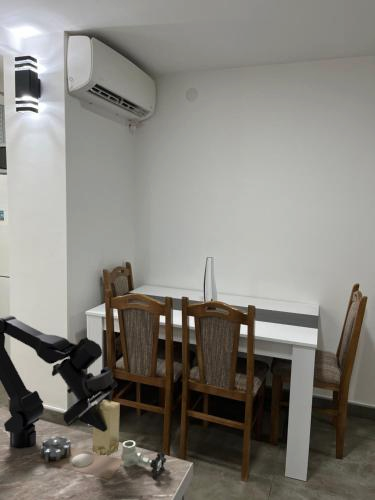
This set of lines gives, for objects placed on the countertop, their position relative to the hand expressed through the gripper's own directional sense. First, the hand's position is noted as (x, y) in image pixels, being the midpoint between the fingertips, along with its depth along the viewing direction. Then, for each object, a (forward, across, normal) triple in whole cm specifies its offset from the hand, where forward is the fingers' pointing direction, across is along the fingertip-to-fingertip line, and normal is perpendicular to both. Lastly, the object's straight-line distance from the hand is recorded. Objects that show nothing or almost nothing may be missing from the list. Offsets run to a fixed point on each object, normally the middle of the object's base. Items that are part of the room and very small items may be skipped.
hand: (110, 425), depth 104 cm
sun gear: (-4, -1, +20) cm, 20 cm away
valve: (+14, +3, +4) cm, 15 cm away
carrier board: (+2, 0, +16) cm, 16 cm away
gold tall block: (+4, 0, +6) cm, 7 cm away
